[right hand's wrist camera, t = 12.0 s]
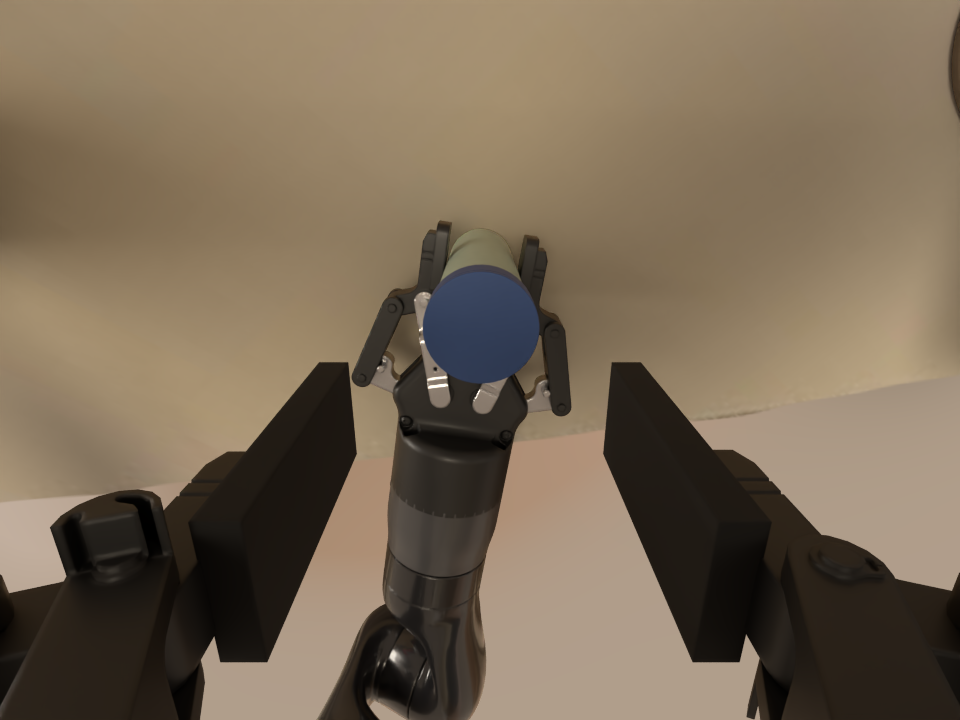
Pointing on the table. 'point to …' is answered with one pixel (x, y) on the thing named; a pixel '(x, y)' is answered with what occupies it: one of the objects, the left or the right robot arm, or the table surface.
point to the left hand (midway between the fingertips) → (487, 231)
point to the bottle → (480, 252)
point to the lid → (481, 324)
